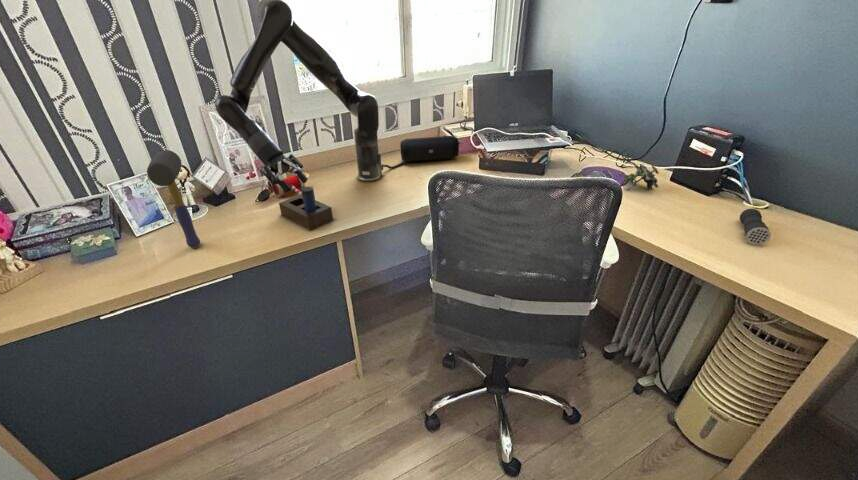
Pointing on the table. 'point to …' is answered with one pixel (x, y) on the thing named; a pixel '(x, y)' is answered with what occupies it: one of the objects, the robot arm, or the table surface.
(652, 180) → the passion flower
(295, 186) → the toy hammer
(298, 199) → the holder
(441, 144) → the portable speaker
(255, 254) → the table surface
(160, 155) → the rubber mallet
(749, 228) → the flashlight
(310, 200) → the handle
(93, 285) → the table surface
